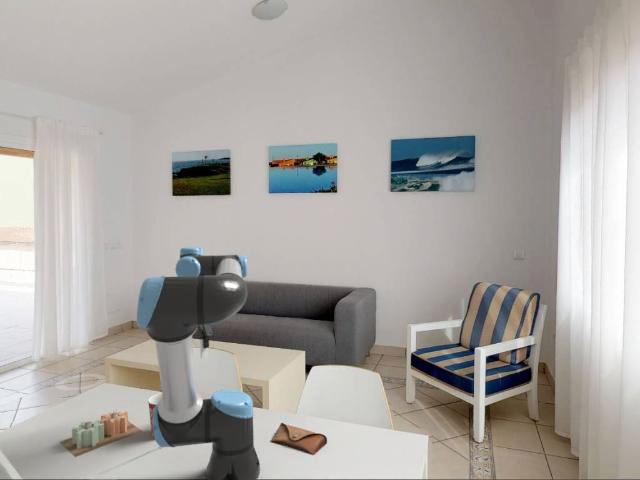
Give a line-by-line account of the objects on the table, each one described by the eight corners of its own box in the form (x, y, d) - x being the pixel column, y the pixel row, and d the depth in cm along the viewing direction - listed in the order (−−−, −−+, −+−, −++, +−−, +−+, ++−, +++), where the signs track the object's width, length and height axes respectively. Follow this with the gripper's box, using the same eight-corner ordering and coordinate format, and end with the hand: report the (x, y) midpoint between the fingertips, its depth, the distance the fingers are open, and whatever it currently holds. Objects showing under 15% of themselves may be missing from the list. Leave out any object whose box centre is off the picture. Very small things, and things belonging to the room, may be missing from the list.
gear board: (142, 435, 148) (141, 413, 147) (75, 461, 132) (74, 437, 131) (124, 422, 156) (124, 402, 156) (60, 446, 140) (59, 423, 140)
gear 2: (133, 425, 151) (133, 411, 150) (118, 438, 143) (117, 423, 142) (110, 423, 152) (109, 409, 152) (93, 435, 144) (93, 420, 144)
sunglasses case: (267, 441, 143) (272, 420, 146) (277, 443, 149) (282, 423, 151) (315, 455, 135) (320, 432, 138) (324, 457, 141) (329, 435, 143)
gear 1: (107, 441, 141) (107, 425, 140) (80, 451, 135) (79, 435, 134) (96, 431, 147) (95, 417, 146) (69, 441, 140) (68, 426, 140)
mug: (166, 446, 140) (166, 405, 140) (143, 442, 143) (142, 402, 142) (188, 427, 153) (188, 390, 152) (166, 424, 155) (165, 387, 154)
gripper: (223, 294, 144) (224, 357, 146) (182, 286, 161) (183, 343, 162) (204, 298, 139) (205, 363, 140) (163, 289, 155) (164, 348, 156)
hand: (193, 352), depth 151 cm, fingers open, 13 cm apart
